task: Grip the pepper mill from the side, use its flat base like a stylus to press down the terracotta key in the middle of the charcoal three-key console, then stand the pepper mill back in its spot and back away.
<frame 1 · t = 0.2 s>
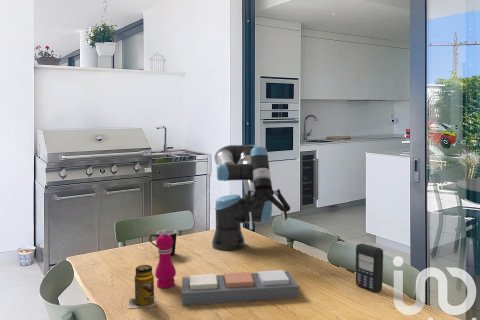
hand: (268, 228, 173), 15 cm above the table, tool tilted 35°, fingers open, 13 cm apart
key grey: (273, 279, 148), point 4 cm above the table, slide at 0.0 cm
condiment: (142, 303, 140), on the table
card reader: (368, 289, 150), on the table
console: (238, 292, 147), on the table
coffee mug: (164, 254, 190), on the table
key terracotta: (238, 281, 147), point 4 cm above the table, slide at 0.0 cm
pepper mill: (165, 285, 155), on the table
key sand: (203, 283, 145), point 4 cm above the table, slide at 0.0 cm
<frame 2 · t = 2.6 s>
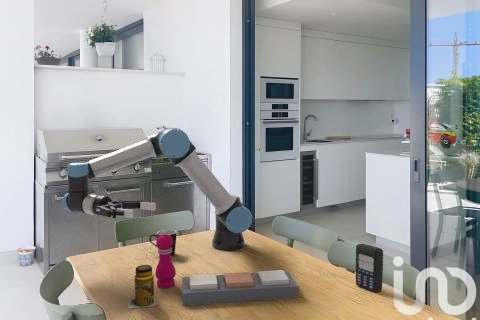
hand: (144, 210, 156), 27 cm above the table, tool horizontal, fingers open, 13 cm apart
nothing on the table moved.
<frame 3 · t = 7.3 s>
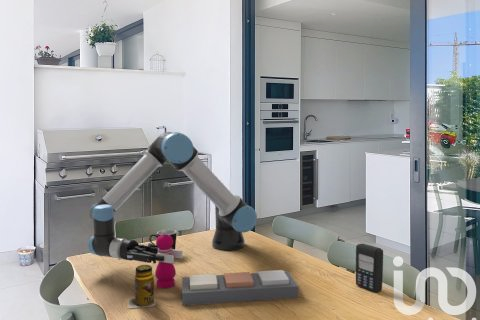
hand: (177, 256, 152), 11 cm above the table, tool horizontal, fingers closed on pepper mill, 5 cm apart
pepper mill: (165, 285, 155), on the table, touching gripper
everything else where it was.
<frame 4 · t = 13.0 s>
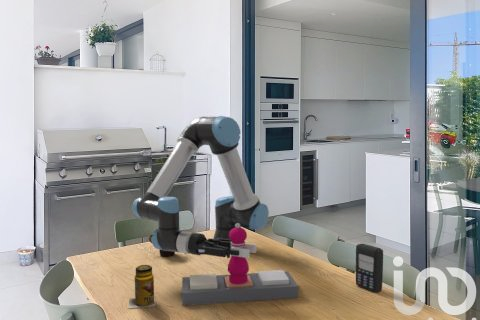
hand: (252, 251, 144), 15 cm above the table, tool horizontal, fingers closed on pepper mill, 5 cm apart
key terracotta: (238, 285, 147), point 3 cm above the table, slide at 1.2 cm, touching pepper mill
pepper mill: (238, 281, 147), point 4 cm above the table, touching gripper, key terracotta
everything else where it was.
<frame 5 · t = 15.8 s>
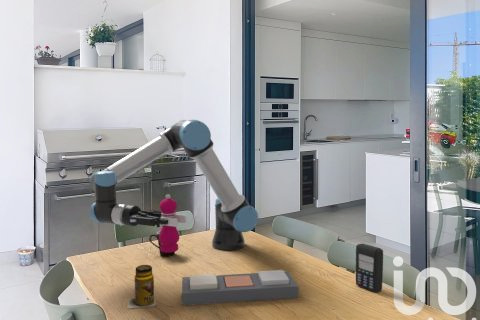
hand: (181, 220, 150), 24 cm above the table, tool horizontal, fingers closed on pepper mill, 5 cm apart
key terracotta: (238, 285, 147), point 3 cm above the table, slide at 1.2 cm
pepper mill: (169, 250, 153), point 13 cm above the table, touching gripper
everything else where it was.
when the fingers open (12 cm above the table, at t = 18.6 s): pepper mill stays where it is, on the table.
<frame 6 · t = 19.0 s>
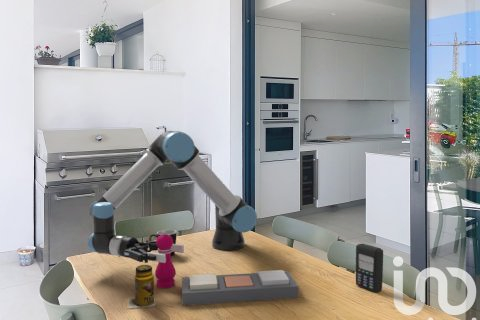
hand: (174, 253, 152), 12 cm above the table, tool horizontal, fingers open, 11 cm apart
pepper mill: (165, 285, 155), on the table
everything else where it was.
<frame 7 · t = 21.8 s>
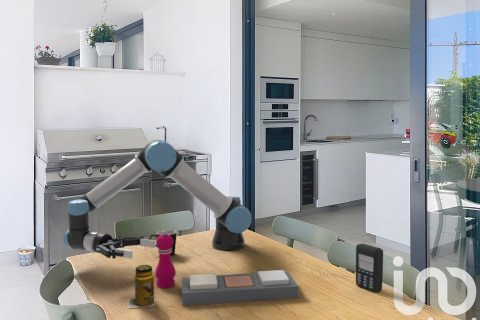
hand: (143, 249, 158), 12 cm above the table, tool horizontal, fingers open, 13 cm apart
nothing on the table moved.
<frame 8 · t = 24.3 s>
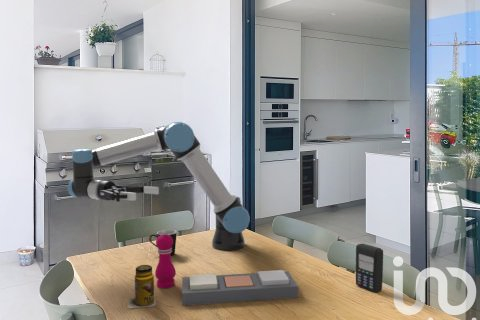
hand: (147, 193, 159), 32 cm above the table, tool horizontal, fingers open, 13 cm apart
nothing on the table moved.
at the end: key terracotta slide at 1.2 cm; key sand slide at 0.0 cm; pepper mill tilted 0° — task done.
